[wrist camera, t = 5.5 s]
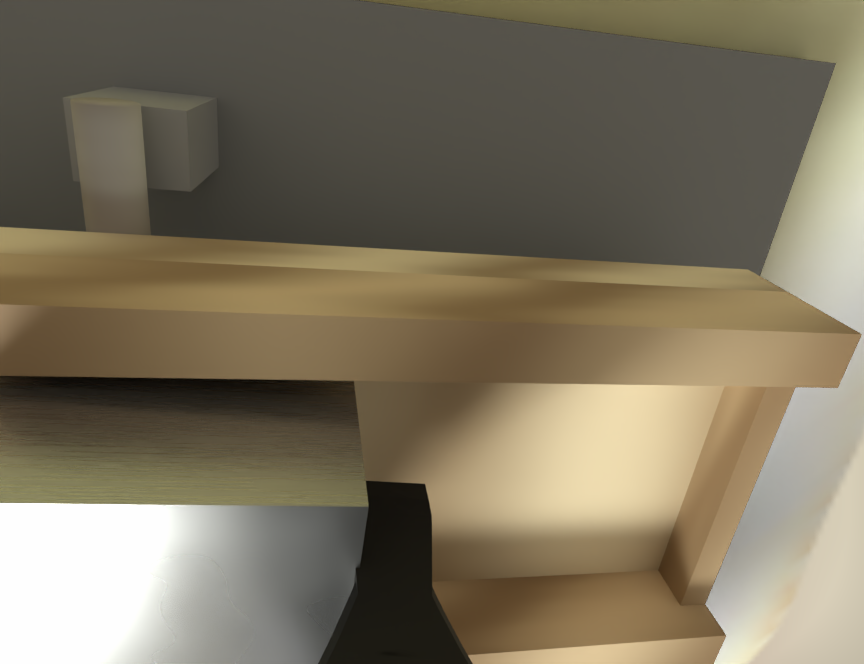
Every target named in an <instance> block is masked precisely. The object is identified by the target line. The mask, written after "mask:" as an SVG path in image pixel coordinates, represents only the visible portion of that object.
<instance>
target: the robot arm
mask: <svg viewBox="0 0 864 664" xmlns="http://www.w3.org/2000/svg"><path fill="white" fill-rule="evenodd" d="M366 488H367V497H368V505H369V508H368V515H367V522H366V528H365V535H364V542H363V549H362V556H361V563H360V568H356V569H355V579H354V586H353V589H352V591H351V594H350V596H349V598H348V600H347V603H346V605H345V607H344V609H343V612H342V614H341V616H340V618H339V621H338V623H337V625H336V627H335V630H334V632H333V634H332V636H331V638H330V640H329V643H328V645H327V647H326V649H325V651H324V653H323V655H322V657H321V659H320V661H319V663H318V664H473V663H472V662H471V660H470V658H469V656H468V655H467V653H466V651H465V649H464V648H463V646H462V644H461V642H460V640H459V638H458V636H457V635H456V633H455V631H454V629H453V627H452V625H451V623H450V622H449V620H448V618H447V616H446V614H445V612H444V610H443V608H442V606H441V604H440V602H439V600H438V598H437V596H436V593H435V591H434V589H433V587H432V514H431V509H430V504H429V499H428V494H427V490H426V486H425V484H420V483H401V482H382V481H366Z"/></svg>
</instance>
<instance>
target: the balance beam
mask: <svg viewBox="0 0 864 664" xmlns="http://www.w3.org/2000/svg"><path fill="white" fill-rule="evenodd" d="M70 104H71V112H72V120H73V128H74V136H75V144H76V153H77V161H78V169H79V177H80V185H81V193H82V201H83V210H84V218H85V226H86V232H82V231H64V230H47V229H29V228H12V227H0V376H55V377H125V378H194V379H264V380H333V381H354V386H355V395H356V403H357V412H358V420H359V429H360V437H361V446H362V454H363V463H364V471H365V480H366V481H382V482H401V483H420V484H425V486H426V490H427V494H428V499H429V504H430V509H431V514H432V587H433V589H434V591H435V593H436V596H437V598H438V600H439V602H440V604H441V606H442V608H443V610H444V612H445V614H446V616H447V618H448V620H449V622H450V623H451V625H452V627H453V629H454V631H455V633H456V635H457V636H458V638H459V640H460V642H461V644H462V646H463V648H464V649H465V651H466V653H467V655H468V656H469V658H470V660H471V662H472V663H473V664H714V662H715V659H716V657H717V655H718V653H719V650H720V648H721V646H722V644H723V642H724V639H725V637H726V635H725V633H724V632H723V630H722V629H721V627H720V626H719V624H718V623H717V621H716V620H715V618H714V617H713V615H712V614H711V612H710V611H709V609H708V608H707V606H706V605H705V603H706V601H707V598H708V596H709V593H710V591H711V589H712V586H713V584H714V581H715V579H716V577H717V574H718V572H719V569H720V567H721V565H722V562H723V560H724V557H725V555H726V553H727V550H728V548H729V545H730V543H731V541H732V538H733V536H734V533H735V531H736V529H737V526H738V524H739V521H740V519H741V517H742V514H743V512H744V509H745V507H746V505H747V502H748V500H749V497H750V495H751V493H752V490H753V488H754V485H755V483H756V481H757V478H758V476H759V473H760V471H761V469H762V466H763V464H764V461H765V459H766V457H767V454H768V452H769V449H770V447H771V445H772V442H773V440H774V437H775V435H776V433H777V430H778V428H779V425H780V423H781V421H782V418H783V416H784V413H785V411H786V409H787V406H788V404H789V401H790V399H791V397H792V394H793V392H794V389H795V387H820V388H838V386H839V384H840V382H841V379H842V377H843V375H844V373H845V371H846V368H847V366H848V364H849V362H850V359H851V357H852V355H853V353H854V351H855V348H856V346H857V344H858V342H859V339H860V337H861V335H862V334H860V333H859V332H857V331H855V330H853V329H851V328H850V327H848V326H846V325H844V324H843V323H841V322H839V321H837V320H836V319H834V318H832V317H830V316H829V315H827V314H825V313H823V312H822V311H820V310H818V309H816V308H815V307H813V306H811V305H809V304H808V303H806V302H804V301H802V300H801V299H799V298H797V297H795V296H794V295H792V294H790V293H788V292H787V291H785V290H783V289H781V288H780V287H778V286H776V285H774V284H773V283H771V282H769V281H767V280H766V279H764V278H762V277H760V276H758V275H757V274H755V273H753V272H751V271H750V270H748V269H731V268H713V267H696V266H678V265H661V264H643V263H626V262H608V261H591V260H573V259H555V258H538V257H520V256H503V255H485V254H468V253H450V252H433V251H415V250H398V249H380V248H362V247H345V246H327V245H310V244H292V243H275V242H257V241H240V240H222V239H205V238H187V237H169V236H152V235H151V230H150V217H149V204H148V191H147V179H146V166H145V153H144V140H143V127H142V114H141V104H140V103H138V102H134V101H129V100H122V99H113V98H96V97H83V98H73V99H70Z"/></svg>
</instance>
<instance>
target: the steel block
mask: <svg viewBox="0 0 864 664" xmlns="http://www.w3.org/2000/svg"><path fill="white" fill-rule="evenodd" d="M368 508H369V505H368V497H367V488H366V480H365V471H364V463H363V454H362V446H361V437H360V429H359V420H358V412H357V403H356V395H355V386H354V381H333V380H264V379H194V378H125V377H55V376H0V664H318V663H319V661H320V659H321V657H322V655H323V653H324V651H325V649H326V647H327V645H328V643H329V640H330V638H331V636H332V634H333V632H334V630H335V627H336V625H337V623H338V621H339V618H340V616H341V614H342V612H343V609H344V607H345V605H346V603H347V600H348V598H349V596H350V594H351V591H352V589H353V586H354V579H355V569H356V568H360V563H361V556H362V549H363V542H364V535H365V528H366V522H367V515H368Z"/></svg>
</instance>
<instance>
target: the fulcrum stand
mask: <svg viewBox="0 0 864 664" xmlns="http://www.w3.org/2000/svg"><path fill="white" fill-rule="evenodd" d="M835 64H836V63H828V62H820V61H813V60H805V59H798V58H790V57H783V56H775V55H768V54H760V53H752V52H745V51H737V50H730V49H722V48H715V47H707V46H700V45H692V44H684V43H677V42H669V41H662V40H654V39H647V38H639V37H632V36H624V35H617V34H609V33H601V32H594V31H586V30H579V29H571V28H564V27H556V26H549V25H541V24H533V23H526V22H518V21H511V20H503V19H496V18H488V17H481V16H473V15H465V14H458V13H450V12H443V11H435V10H428V9H420V8H413V7H405V6H398V5H390V4H382V3H375V2H367V1H360V0H0V227H12V228H29V229H47V230H64V231H82V232H86V226H85V218H84V210H83V201H82V193H81V185H80V177H79V169H78V161H77V153H76V144H75V136H74V128H73V120H72V112H71V104H70V99H73V98H83V97H96V98H113V99H122V100H129V101H134V102H138V103H140V104H141V114H142V127H143V140H144V153H145V166H146V179H147V191H148V204H149V217H150V230H151V235H152V236H169V237H187V238H205V239H222V240H240V241H257V242H275V243H292V244H310V245H327V246H345V247H362V248H380V249H398V250H415V251H433V252H450V253H468V254H485V255H503V256H520V257H538V258H555V259H573V260H591V261H608V262H626V263H643V264H661V265H678V266H696V267H713V268H731V269H748V270H750V271H751V272H753V273H755V274H757V275H758V276H760V274H761V271H762V268H763V266H764V263H765V260H766V257H767V254H768V252H769V249H770V246H771V243H772V240H773V238H774V235H775V232H776V229H777V227H778V224H779V221H780V218H781V215H782V213H783V210H784V207H785V204H786V201H787V199H788V196H789V193H790V190H791V187H792V185H793V182H794V179H795V176H796V173H797V171H798V168H799V165H800V162H801V159H802V157H803V154H804V151H805V148H806V145H807V143H808V140H809V137H810V134H811V132H812V129H813V126H814V123H815V120H816V118H817V115H818V112H819V109H820V106H821V104H822V101H823V98H824V95H825V92H826V90H827V87H828V84H829V81H830V78H831V76H832V73H833V70H834V67H835Z"/></svg>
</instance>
